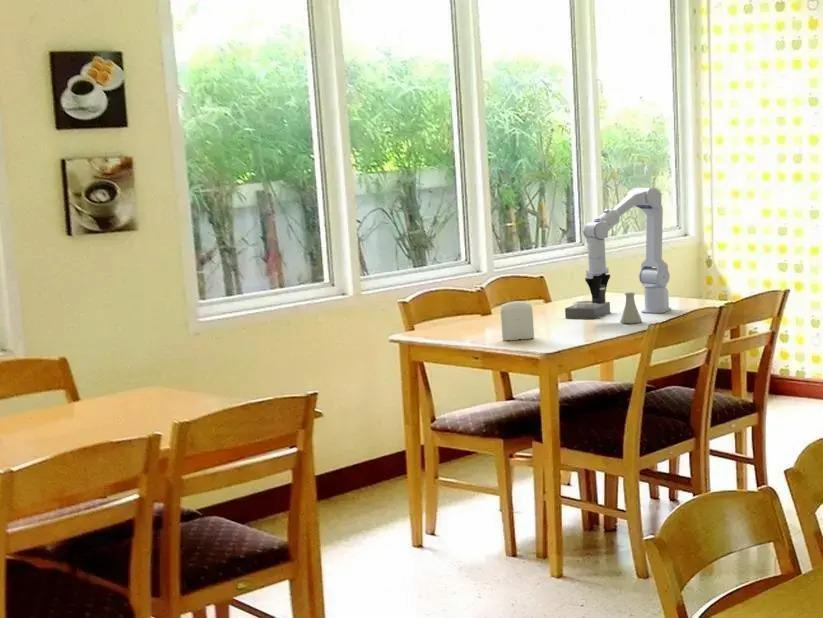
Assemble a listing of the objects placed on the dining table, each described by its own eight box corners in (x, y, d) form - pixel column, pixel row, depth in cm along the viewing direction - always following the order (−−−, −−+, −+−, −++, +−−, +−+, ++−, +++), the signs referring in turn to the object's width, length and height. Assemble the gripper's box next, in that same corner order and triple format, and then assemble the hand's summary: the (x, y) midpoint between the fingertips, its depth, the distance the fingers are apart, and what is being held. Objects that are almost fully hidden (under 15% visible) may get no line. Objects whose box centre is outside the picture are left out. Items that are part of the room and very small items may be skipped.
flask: (641, 323, 407) (640, 294, 405) (619, 324, 408) (618, 294, 407) (642, 320, 414) (641, 291, 412) (620, 321, 415) (619, 292, 414)
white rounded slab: (502, 341, 391) (500, 303, 389) (501, 339, 395) (499, 301, 393) (535, 339, 391) (532, 301, 389) (533, 337, 395) (531, 299, 393)
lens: (595, 301, 418) (594, 283, 417) (607, 301, 416) (607, 283, 415) (589, 303, 414) (588, 285, 414) (602, 303, 412) (601, 285, 411)
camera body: (581, 311, 441) (581, 298, 440) (610, 312, 435) (609, 298, 434) (565, 318, 429) (564, 304, 429) (594, 318, 423) (593, 304, 423)
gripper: (594, 254, 421) (596, 293, 423) (577, 260, 409) (579, 300, 411) (613, 254, 417) (615, 294, 419) (596, 260, 405) (598, 300, 407)
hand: (598, 297), depth 415 cm, fingers closed on lens, 5 cm apart
